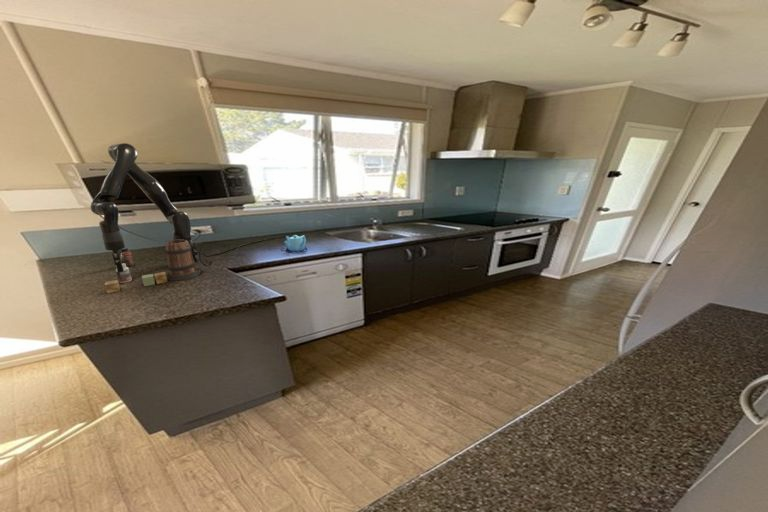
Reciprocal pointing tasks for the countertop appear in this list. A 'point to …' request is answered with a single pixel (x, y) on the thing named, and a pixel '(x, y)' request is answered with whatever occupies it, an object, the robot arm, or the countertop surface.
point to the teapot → (295, 243)
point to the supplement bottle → (127, 257)
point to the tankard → (182, 260)
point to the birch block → (112, 286)
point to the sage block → (148, 280)
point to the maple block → (160, 277)
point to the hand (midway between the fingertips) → (121, 269)
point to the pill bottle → (124, 274)
